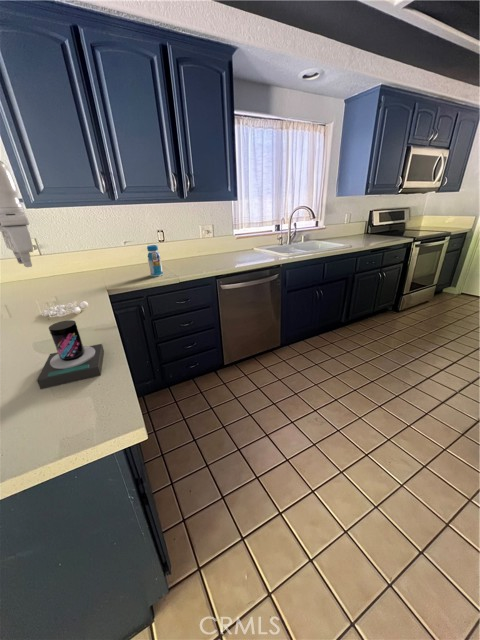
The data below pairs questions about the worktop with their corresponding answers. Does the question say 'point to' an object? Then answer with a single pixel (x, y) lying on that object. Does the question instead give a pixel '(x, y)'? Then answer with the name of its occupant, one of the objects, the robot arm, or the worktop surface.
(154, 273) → the beverage bottle
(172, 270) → the worktop surface
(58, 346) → the supplement container
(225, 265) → the worktop surface
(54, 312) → the white bead necklace
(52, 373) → the scale
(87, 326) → the worktop surface
